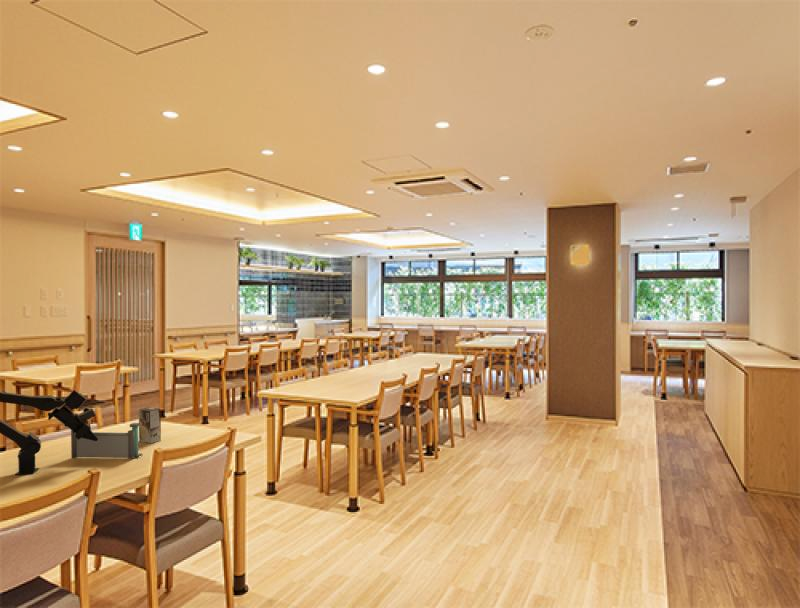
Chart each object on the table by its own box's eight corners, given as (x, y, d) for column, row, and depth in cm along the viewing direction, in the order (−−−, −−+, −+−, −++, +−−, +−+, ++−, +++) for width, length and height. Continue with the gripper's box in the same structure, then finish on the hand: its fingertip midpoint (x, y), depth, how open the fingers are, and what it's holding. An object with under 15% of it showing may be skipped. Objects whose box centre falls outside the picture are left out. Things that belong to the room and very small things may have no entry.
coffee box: (161, 440, 267) (161, 408, 267) (150, 443, 261) (150, 411, 261) (149, 438, 271) (149, 406, 271) (138, 441, 266) (137, 409, 265)
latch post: (127, 457, 239) (127, 424, 239) (131, 455, 242) (131, 422, 242) (138, 457, 239) (138, 424, 238) (142, 455, 242) (142, 422, 242)
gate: (70, 457, 237) (69, 428, 237) (73, 456, 240) (73, 427, 239) (132, 458, 236) (132, 429, 236) (135, 456, 238) (135, 427, 238)
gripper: (84, 406, 222) (114, 429, 228) (82, 400, 237) (109, 421, 243) (62, 427, 217) (93, 450, 223) (61, 419, 233) (89, 441, 239)
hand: (97, 440), depth 232 cm, fingers closed
